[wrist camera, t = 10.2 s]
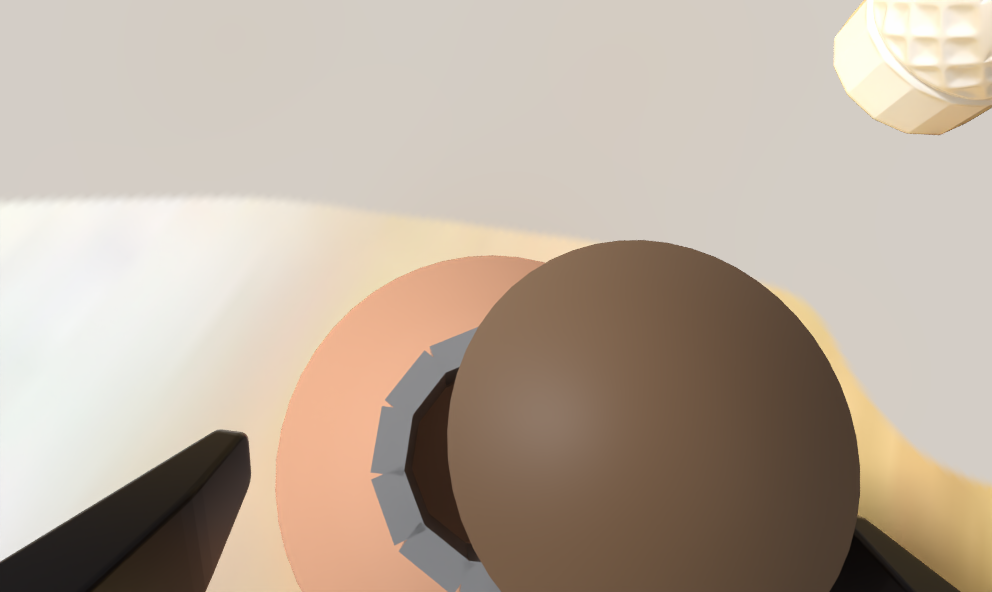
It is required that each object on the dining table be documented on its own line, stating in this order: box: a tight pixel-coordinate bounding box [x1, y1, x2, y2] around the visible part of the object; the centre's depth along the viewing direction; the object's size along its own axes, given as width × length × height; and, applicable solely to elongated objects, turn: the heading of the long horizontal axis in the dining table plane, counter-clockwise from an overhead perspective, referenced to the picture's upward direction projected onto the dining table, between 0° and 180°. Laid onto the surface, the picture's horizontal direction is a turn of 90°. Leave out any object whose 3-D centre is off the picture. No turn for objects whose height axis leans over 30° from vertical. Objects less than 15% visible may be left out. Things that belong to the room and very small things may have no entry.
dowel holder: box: [275, 256, 545, 592], centre depth 15 cm, size 13×13×4 cm
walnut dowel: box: [447, 240, 860, 592], centre depth 10 cm, size 3×3×13 cm
